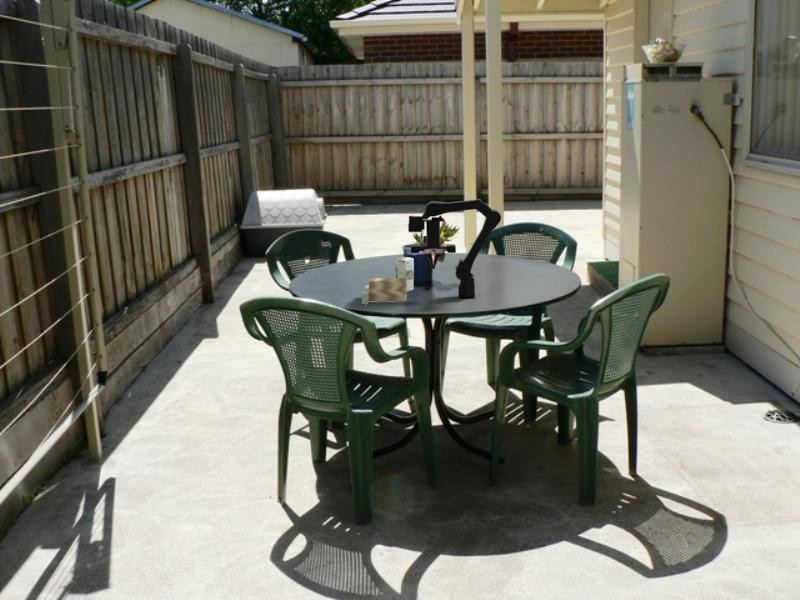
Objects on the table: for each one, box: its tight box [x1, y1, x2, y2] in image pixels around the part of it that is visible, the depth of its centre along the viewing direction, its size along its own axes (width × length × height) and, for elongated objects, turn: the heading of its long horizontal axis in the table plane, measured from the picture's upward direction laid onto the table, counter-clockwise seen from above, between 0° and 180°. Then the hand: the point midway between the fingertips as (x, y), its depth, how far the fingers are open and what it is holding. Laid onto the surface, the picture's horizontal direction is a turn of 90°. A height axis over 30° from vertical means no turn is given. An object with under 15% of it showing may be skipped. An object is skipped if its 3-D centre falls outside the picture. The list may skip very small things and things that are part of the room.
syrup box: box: [395, 256, 415, 293], centre depth 378 cm, size 6×6×14 cm
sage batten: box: [361, 284, 370, 305], centre depth 362 cm, size 2×16×5 cm, turn 176°
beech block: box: [368, 277, 408, 302], centre depth 361 cm, size 15×6×9 cm, turn 86°
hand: (433, 269), depth 363 cm, fingers closed
